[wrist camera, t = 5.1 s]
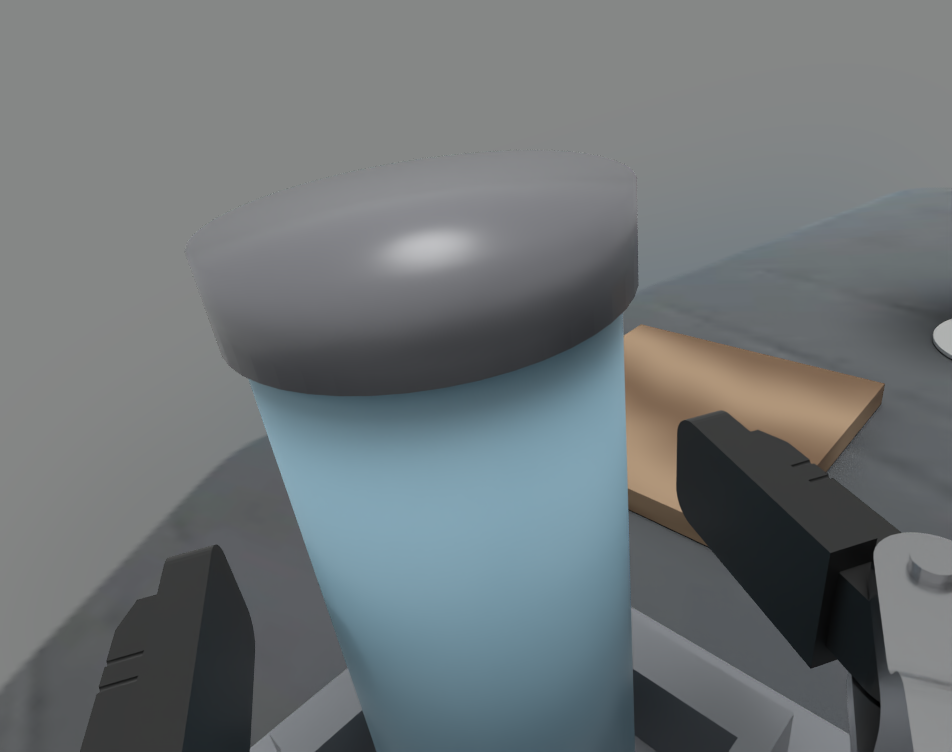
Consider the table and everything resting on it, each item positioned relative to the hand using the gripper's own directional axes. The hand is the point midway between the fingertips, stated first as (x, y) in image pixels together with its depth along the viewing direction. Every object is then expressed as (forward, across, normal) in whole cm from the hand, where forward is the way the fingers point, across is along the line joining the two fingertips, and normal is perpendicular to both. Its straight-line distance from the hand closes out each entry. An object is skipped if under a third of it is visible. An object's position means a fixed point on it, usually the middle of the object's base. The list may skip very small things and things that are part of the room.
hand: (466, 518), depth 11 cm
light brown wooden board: (+13, -12, +9) cm, 20 cm away
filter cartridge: (-1, 0, +8) cm, 8 cm away
